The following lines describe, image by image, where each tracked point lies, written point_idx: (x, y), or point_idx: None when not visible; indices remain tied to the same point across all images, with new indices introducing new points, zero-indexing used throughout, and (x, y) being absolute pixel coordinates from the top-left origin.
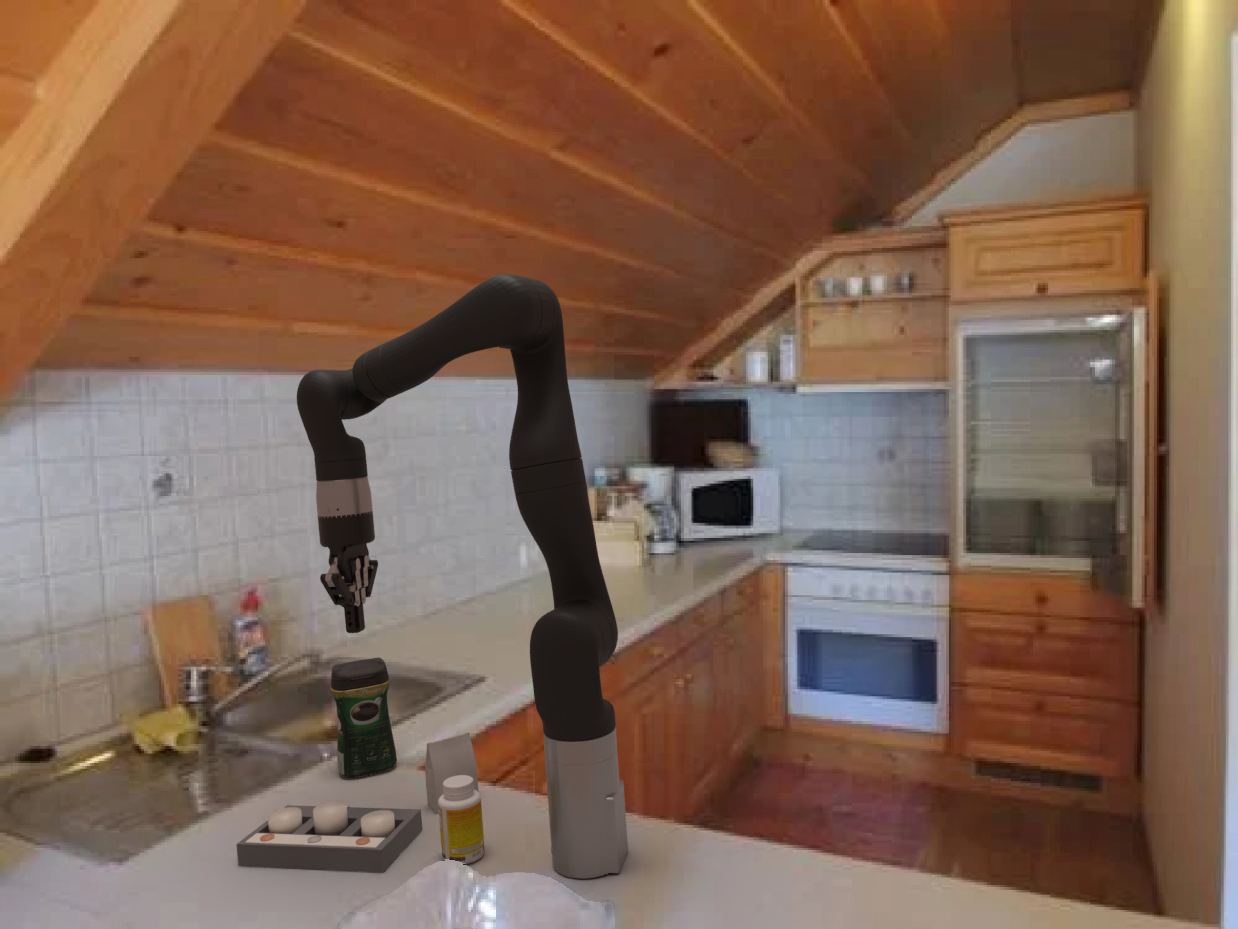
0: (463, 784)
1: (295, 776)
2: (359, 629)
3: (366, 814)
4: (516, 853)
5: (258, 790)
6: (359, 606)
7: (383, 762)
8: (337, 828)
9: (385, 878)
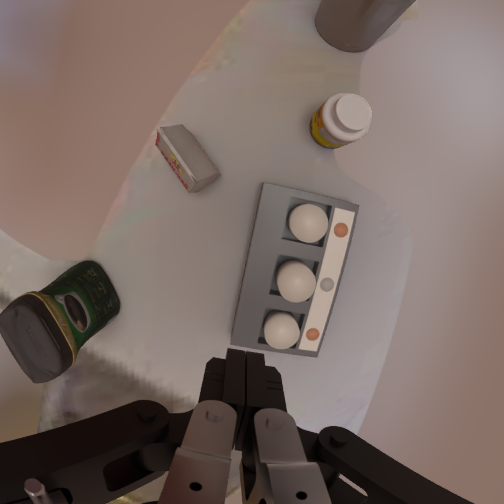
0: (366, 104)
1: (112, 362)
2: (263, 357)
3: (299, 239)
4: (326, 80)
5: (145, 386)
6: (256, 406)
7: (99, 273)
8: (308, 267)
9: (361, 199)
